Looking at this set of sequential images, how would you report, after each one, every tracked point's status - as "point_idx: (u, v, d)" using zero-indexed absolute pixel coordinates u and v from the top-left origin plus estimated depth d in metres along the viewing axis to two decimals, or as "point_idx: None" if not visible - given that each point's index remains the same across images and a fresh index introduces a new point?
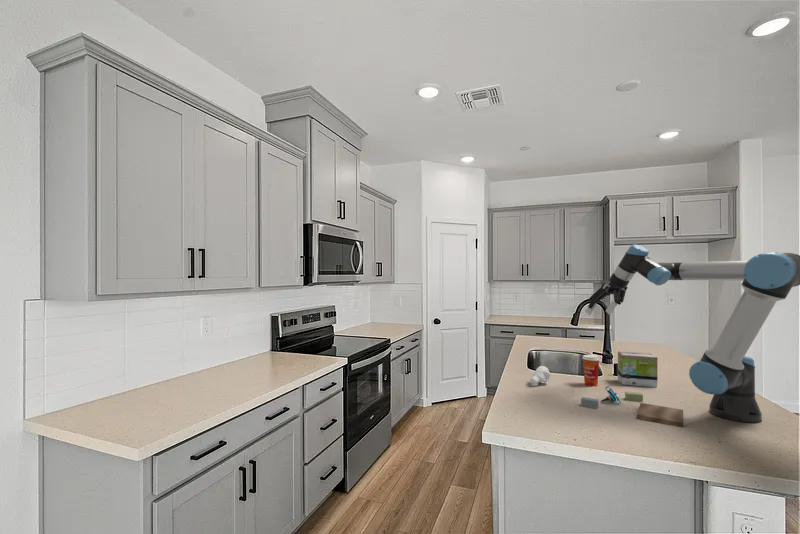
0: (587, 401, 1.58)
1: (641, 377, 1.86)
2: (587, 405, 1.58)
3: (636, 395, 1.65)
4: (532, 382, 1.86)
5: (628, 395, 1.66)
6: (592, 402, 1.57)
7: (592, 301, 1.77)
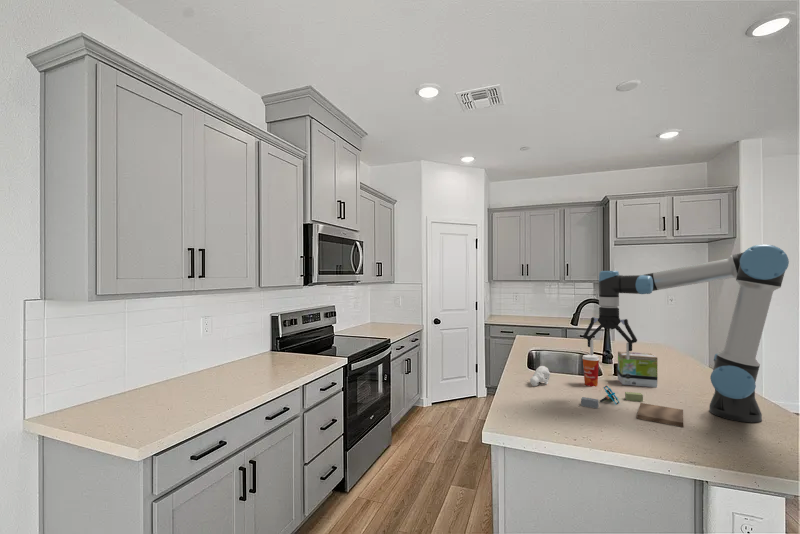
0: (587, 401, 1.58)
1: (641, 377, 1.86)
2: (587, 405, 1.58)
3: (636, 395, 1.65)
4: (532, 382, 1.86)
5: (628, 395, 1.66)
6: (592, 402, 1.57)
7: None
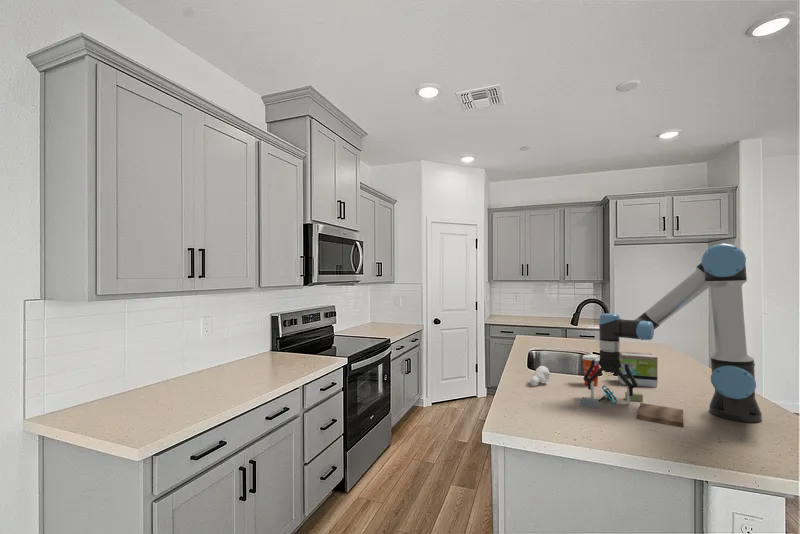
0: (587, 401, 1.58)
1: (641, 377, 1.86)
2: (587, 405, 1.58)
3: (636, 395, 1.65)
4: (532, 382, 1.86)
5: None
6: (592, 402, 1.57)
7: (583, 378, 1.70)
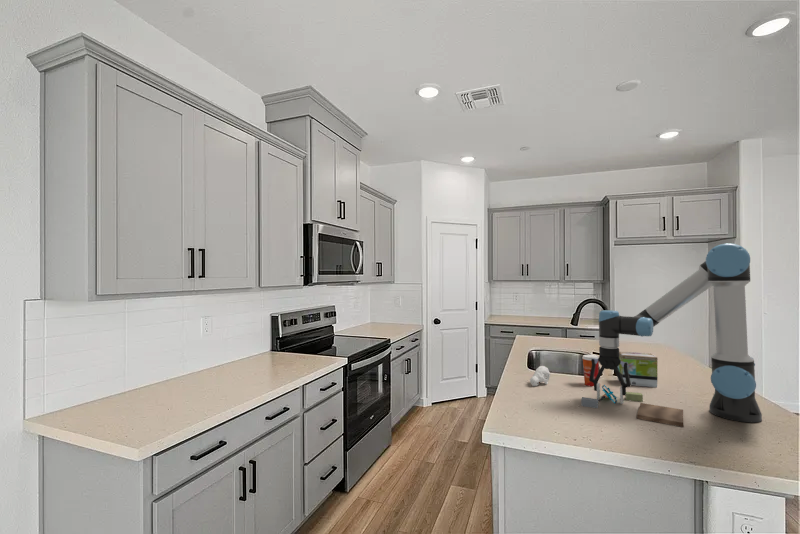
0: (587, 401, 1.58)
1: (641, 377, 1.86)
2: (587, 405, 1.58)
3: (636, 395, 1.65)
4: (532, 382, 1.86)
5: (628, 395, 1.66)
6: (592, 402, 1.57)
7: (589, 380, 1.68)
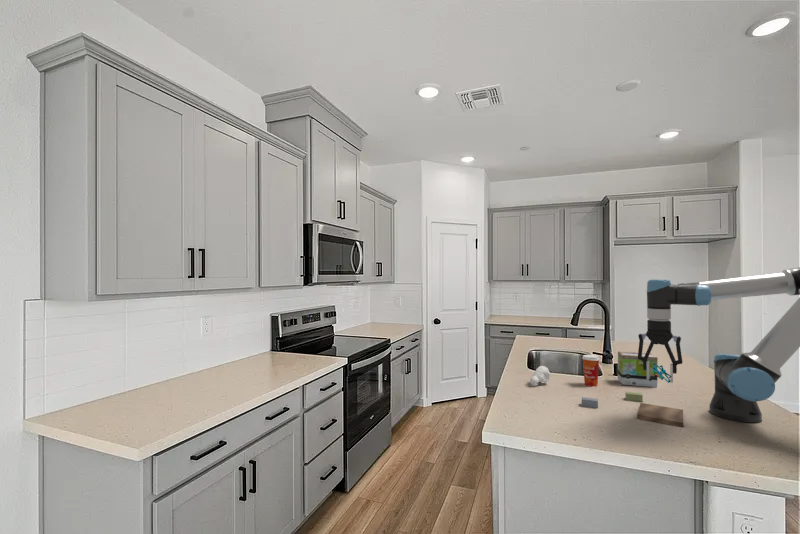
0: (588, 401, 1.58)
1: (641, 377, 1.86)
2: (588, 405, 1.58)
3: (635, 395, 1.65)
4: (532, 382, 1.86)
5: (627, 395, 1.66)
6: (593, 402, 1.57)
7: None
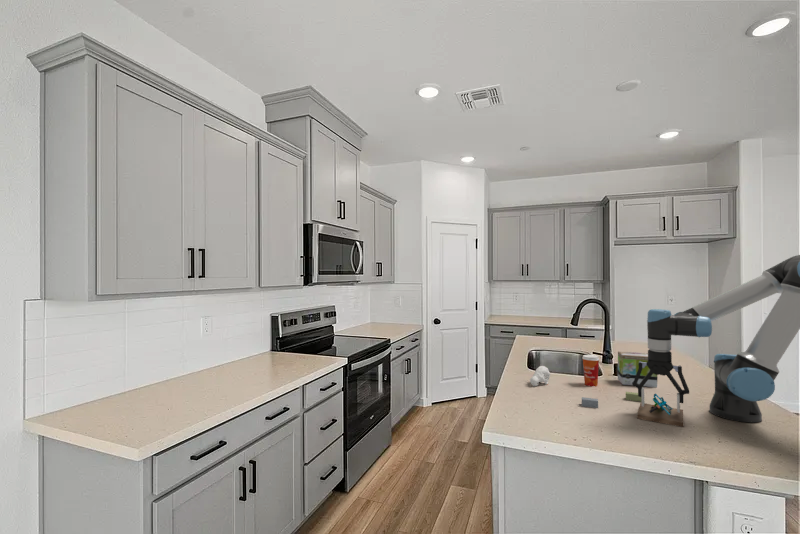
0: (588, 401, 1.58)
1: (641, 377, 1.86)
2: (588, 405, 1.58)
3: (635, 395, 1.65)
4: (532, 382, 1.86)
5: (627, 395, 1.66)
6: (593, 402, 1.57)
7: None
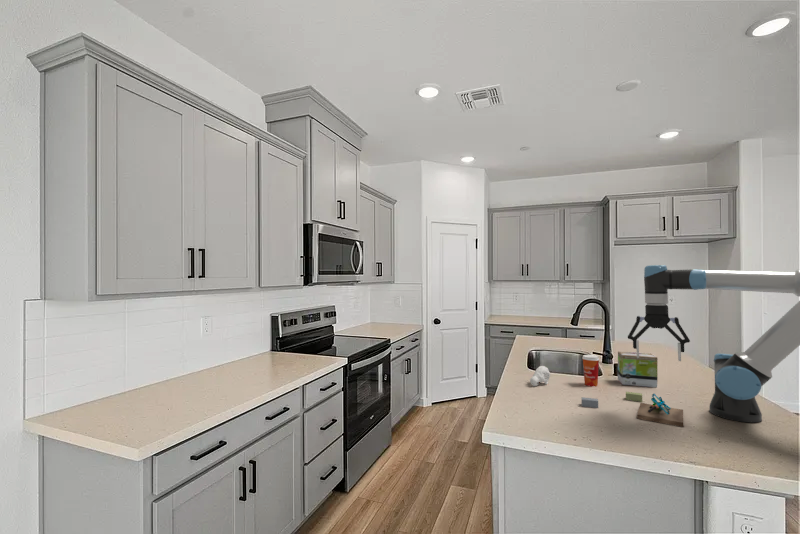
0: (588, 401, 1.58)
1: (641, 377, 1.86)
2: (588, 405, 1.58)
3: (635, 395, 1.65)
4: (532, 382, 1.86)
5: (627, 395, 1.66)
6: (593, 402, 1.57)
7: None
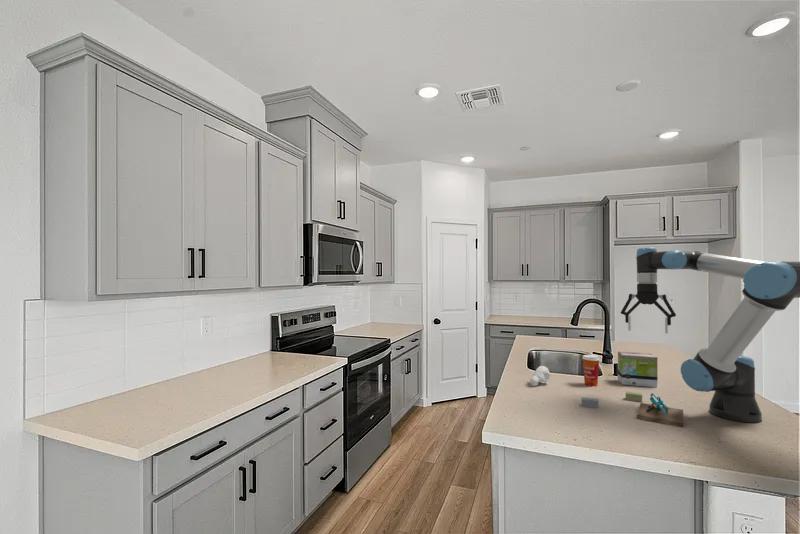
0: (588, 401, 1.58)
1: (641, 377, 1.86)
2: (588, 405, 1.58)
3: (635, 395, 1.65)
4: (532, 382, 1.86)
5: (627, 394, 1.67)
6: (593, 402, 1.57)
7: None
